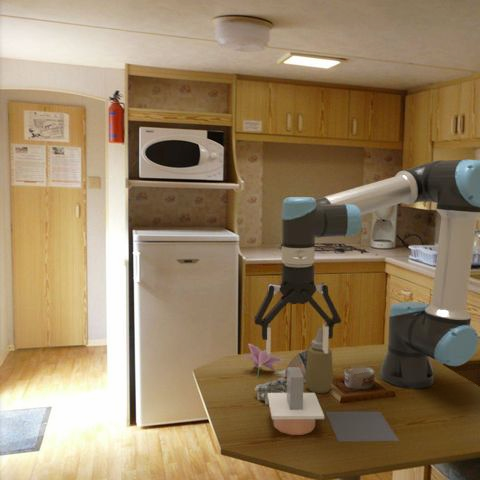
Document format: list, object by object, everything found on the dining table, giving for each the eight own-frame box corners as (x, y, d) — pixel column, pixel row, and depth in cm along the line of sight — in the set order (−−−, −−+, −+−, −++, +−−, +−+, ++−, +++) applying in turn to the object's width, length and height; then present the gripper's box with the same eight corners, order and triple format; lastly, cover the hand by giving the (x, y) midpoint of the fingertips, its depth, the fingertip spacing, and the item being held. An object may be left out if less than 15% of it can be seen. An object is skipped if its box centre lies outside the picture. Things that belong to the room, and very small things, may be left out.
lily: (287, 381, 149) (289, 349, 153) (260, 375, 142) (262, 342, 146) (259, 382, 158) (262, 351, 161) (232, 376, 151) (235, 344, 154)
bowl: (310, 416, 126) (311, 397, 125) (317, 436, 116) (318, 416, 116) (271, 416, 126) (272, 397, 125) (275, 437, 116) (276, 416, 115)
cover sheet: (314, 395, 127) (315, 362, 125) (324, 419, 115) (325, 382, 113) (267, 395, 126) (268, 362, 125) (272, 419, 114) (272, 382, 113)
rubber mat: (379, 413, 128) (380, 411, 128) (399, 443, 114) (399, 440, 114) (325, 414, 127) (325, 411, 127) (338, 443, 114) (338, 441, 113)
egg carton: (268, 408, 131) (269, 393, 130) (252, 397, 137) (252, 383, 137) (299, 398, 137) (300, 384, 136) (282, 388, 143) (282, 374, 142)
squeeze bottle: (299, 386, 143) (300, 326, 141) (323, 382, 146) (325, 323, 144) (313, 398, 136) (315, 335, 133) (338, 393, 139) (340, 331, 136)
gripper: (244, 267, 112) (245, 358, 115) (355, 266, 112) (353, 356, 115) (243, 261, 119) (243, 347, 122) (347, 260, 120) (345, 345, 123)
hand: (296, 352), depth 119 cm, fingers open, 13 cm apart
